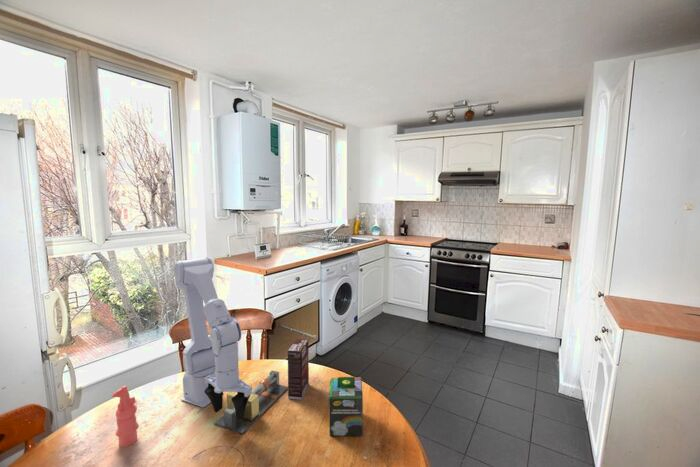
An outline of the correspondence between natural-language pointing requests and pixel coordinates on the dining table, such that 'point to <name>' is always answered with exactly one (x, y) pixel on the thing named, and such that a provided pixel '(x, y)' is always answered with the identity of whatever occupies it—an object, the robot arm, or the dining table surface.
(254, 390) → the pipe stand
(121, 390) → the figurine
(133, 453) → the dining table surface
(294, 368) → the supplement box
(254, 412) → the yellow block with hole
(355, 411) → the chalk box
